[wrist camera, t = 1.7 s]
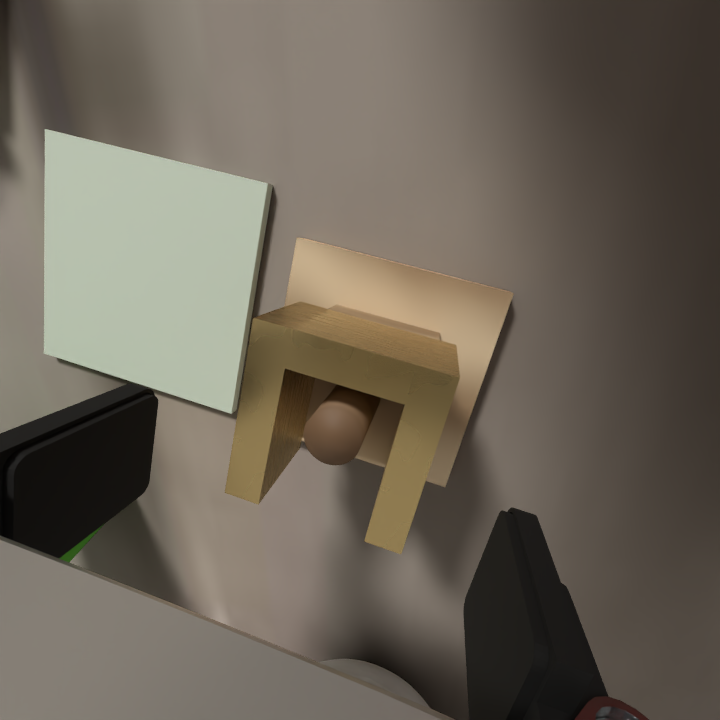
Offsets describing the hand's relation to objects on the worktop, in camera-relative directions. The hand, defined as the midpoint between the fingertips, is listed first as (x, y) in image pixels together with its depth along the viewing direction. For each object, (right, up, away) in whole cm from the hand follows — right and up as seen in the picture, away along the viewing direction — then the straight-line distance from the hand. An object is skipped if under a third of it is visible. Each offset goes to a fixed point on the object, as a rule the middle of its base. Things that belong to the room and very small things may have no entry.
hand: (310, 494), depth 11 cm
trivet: (-10, +8, +11) cm, 17 cm away
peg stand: (+2, +3, +10) cm, 11 cm away
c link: (+1, +2, +5) cm, 6 cm away
